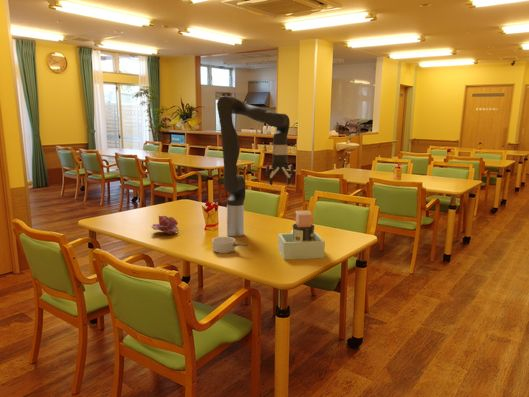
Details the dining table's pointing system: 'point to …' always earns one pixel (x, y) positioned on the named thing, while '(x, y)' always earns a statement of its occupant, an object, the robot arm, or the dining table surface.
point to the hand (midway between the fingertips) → (279, 185)
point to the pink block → (303, 218)
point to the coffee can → (303, 233)
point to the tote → (300, 247)
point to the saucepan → (225, 244)
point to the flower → (166, 225)
